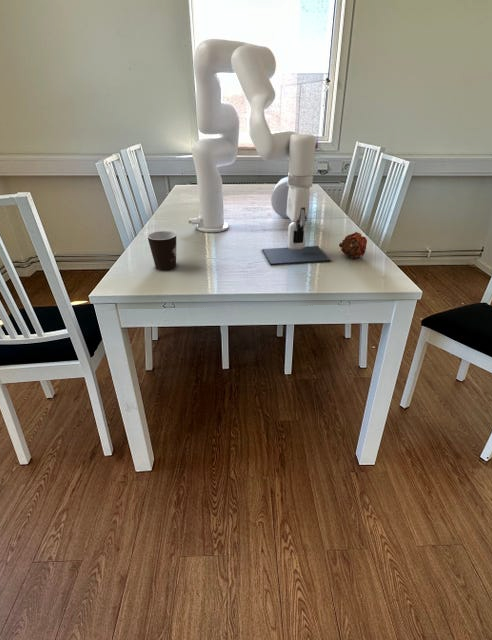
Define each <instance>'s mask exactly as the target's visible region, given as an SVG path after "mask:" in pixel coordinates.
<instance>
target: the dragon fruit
mask: <svg viewBox="0 0 492 640" xmlns="http://www.w3.org/2000/svg"><path fill="white" fill-rule="evenodd" d="M367 243H368V240H367V238H366V237H365V236H362V233H360V232H358V231H354V233H350V234H348V235H346V236H344V238H343V239H342V242H339V244H338V247H339V248H340V250H341V252H342V254H343V255H345V256H346V257H348V258H350V259H353V260H354V259H356V258H358V257H363V256H365V254H366V252H367V251H366V250H367Z"/></svg>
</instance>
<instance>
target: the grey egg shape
mask: <svg viewBox="0 0 492 640" xmlns="http://www.w3.org/2000/svg"><path fill="white" fill-rule="evenodd" d="M288 190H289V186H288V176H285V177H283V178H281V179H280V180H279V181H278V182H277V183H276V185H275V186H274V188H273V190H272V192H271V193H272V194H271V196H270V197H271V198H270V201H271V202H270V203H271V206H272V209H273V211H274V212H275V213H276V214H277V216H280V217H281V218H283V219H290V218H289V217H288V216H287V213H286V212H287V200H288ZM268 215H270V213H269V212H268Z"/></svg>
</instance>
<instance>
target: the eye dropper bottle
mask: <svg viewBox="0 0 492 640" xmlns="http://www.w3.org/2000/svg"><path fill="white" fill-rule="evenodd" d="M298 220H300V219H298ZM298 224H300V223H298ZM294 230H295V222H293V223H291V222H290V223H289V225H288V228H287V248H289V249H292V250H296V249H302V248H304V247H306V235H307V234H306V232H307V225H306V224H305V226H304V237H303V243H294V242H293V237H294Z"/></svg>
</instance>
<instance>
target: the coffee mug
mask: <svg viewBox="0 0 492 640" xmlns="http://www.w3.org/2000/svg"><path fill="white" fill-rule="evenodd" d="M146 237H147V241H148V245H149V248H150V251H151V256H152V260H153V263H154V267H155V269H156V270H157V271H159V272H168V271H172V270H175V269H176V268H177V233H176V232H174V231H170V230H159V231H154V232H151V233H148V234H147V236H146Z"/></svg>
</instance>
